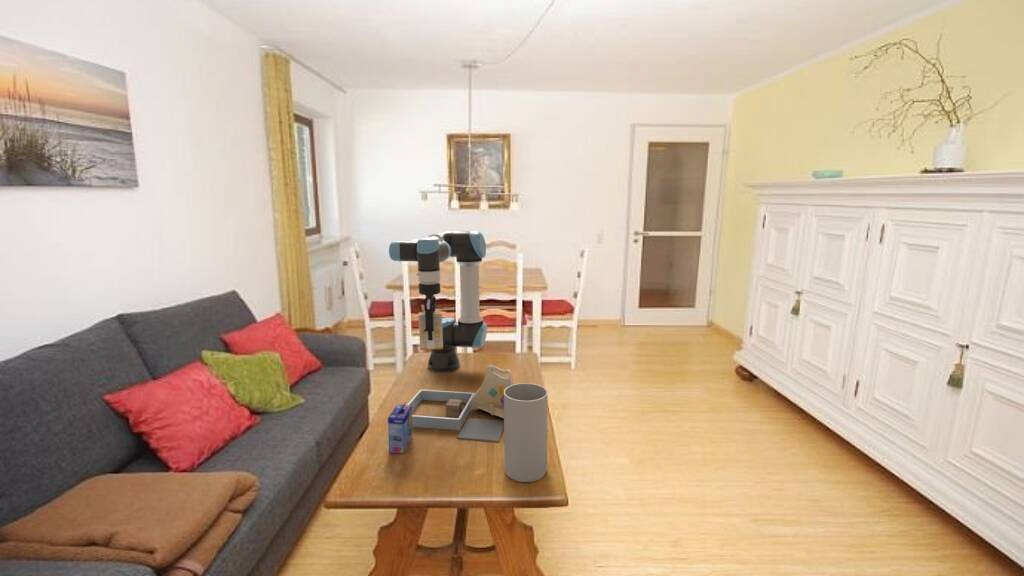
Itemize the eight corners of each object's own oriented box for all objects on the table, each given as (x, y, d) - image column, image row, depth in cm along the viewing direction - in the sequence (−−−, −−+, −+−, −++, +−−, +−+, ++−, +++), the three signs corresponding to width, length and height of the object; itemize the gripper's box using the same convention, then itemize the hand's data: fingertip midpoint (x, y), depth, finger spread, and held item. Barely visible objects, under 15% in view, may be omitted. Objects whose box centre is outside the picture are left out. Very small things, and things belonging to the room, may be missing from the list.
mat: (468, 419, 169) (467, 418, 169) (505, 422, 167) (505, 420, 167) (457, 438, 156) (457, 437, 156) (498, 442, 153) (498, 440, 153)
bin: (420, 398, 187) (420, 389, 186) (475, 402, 183) (475, 392, 182) (398, 425, 165) (397, 415, 164) (460, 430, 161) (459, 419, 160)
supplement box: (443, 345, 170) (442, 310, 168) (443, 349, 165) (442, 313, 163) (420, 346, 169) (419, 311, 167) (419, 350, 164) (418, 314, 162)
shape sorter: (529, 417, 170) (529, 370, 167) (509, 426, 162) (509, 378, 160) (491, 402, 183) (491, 359, 181) (471, 410, 176) (471, 365, 173)
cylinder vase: (533, 488, 129) (534, 405, 124) (496, 474, 135) (495, 394, 130) (553, 466, 139) (555, 388, 134) (518, 455, 146) (518, 380, 141)
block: (449, 411, 176) (449, 399, 175) (462, 412, 175) (462, 399, 174) (445, 417, 171) (445, 404, 170) (459, 418, 170) (458, 405, 169)
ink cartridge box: (405, 454, 146) (403, 411, 144) (388, 453, 147) (385, 411, 144) (413, 438, 156) (411, 398, 153) (397, 437, 156) (395, 397, 154)
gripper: (421, 278, 171) (423, 338, 176) (415, 287, 154) (418, 354, 158) (441, 278, 172) (443, 338, 176) (438, 286, 154) (440, 353, 159)
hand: (431, 345), depth 167 cm, fingers closed on supplement box, 5 cm apart
